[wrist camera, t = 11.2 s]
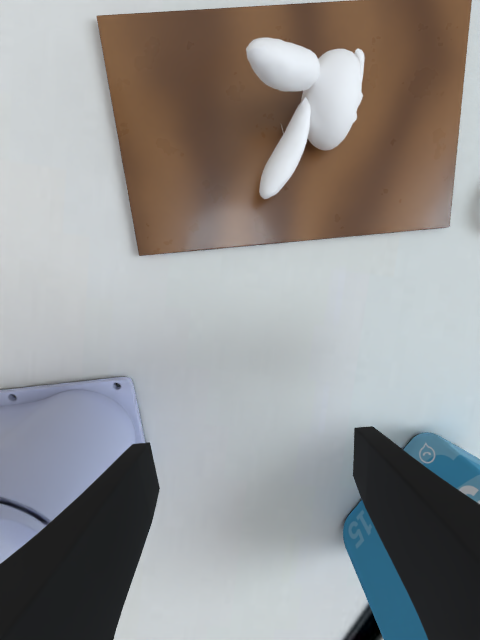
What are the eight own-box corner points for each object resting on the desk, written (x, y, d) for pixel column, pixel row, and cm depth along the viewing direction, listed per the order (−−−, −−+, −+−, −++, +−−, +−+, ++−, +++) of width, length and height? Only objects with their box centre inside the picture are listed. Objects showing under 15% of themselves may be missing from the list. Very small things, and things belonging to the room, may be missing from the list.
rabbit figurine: (372, 158, 16) (280, 211, 13) (318, 150, 18) (229, 193, 15) (402, 8, 12) (275, 36, 9) (327, 22, 14) (206, 47, 11)
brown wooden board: (140, 255, 17) (138, 255, 17) (99, 21, 14) (95, 15, 14) (444, 227, 18) (449, 227, 17) (466, -1, 15) (473, -8, 14)
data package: (423, 422, 21) (659, 623, 10) (463, 445, 22) (726, 657, 11) (336, 527, 24) (445, 795, 12) (375, 545, 24) (514, 812, 13)
